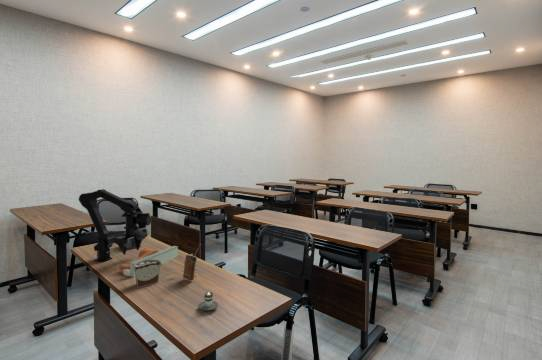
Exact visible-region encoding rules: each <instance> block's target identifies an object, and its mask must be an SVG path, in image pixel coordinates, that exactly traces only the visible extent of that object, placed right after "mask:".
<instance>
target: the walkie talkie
mask: <svg viewBox="0 0 542 360" xmlns="http://www.w3.org/2000/svg"><path fill="white" fill-rule="evenodd" d="M201 246H202V244H201V243H200V244H199V245H198V248H197V249H196V251H195V253H190V254H186V256H185V261H184V266H183V267H184V269H183V273H181V274H179V273H177V274H172V275H170V276H167V277H166V278H171V277H174V276H183V279H186V280H188V281H193V280H194V277H196V278H197V277H198V274H196V273H195V271H196V264H197V256H196V255H197V253H198V251H199V248H200V247H201Z"/></svg>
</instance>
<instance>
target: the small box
mask: <svg viewBox="0 0 542 360" xmlns="http://www.w3.org/2000/svg"><path fill="white" fill-rule="evenodd" d="M124 234H126V231H123V237H126V236H124ZM129 238H130V237H129ZM126 243H128V244H127V245H126V249H129V250H135V249H136V243H135V238H132V239H129V240H127V242H126ZM141 245H142V244H141ZM141 245H140V248H141V247H142V246H141ZM136 250H137V249H136Z"/></svg>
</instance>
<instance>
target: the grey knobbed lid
mask: <svg viewBox="0 0 542 360" xmlns="http://www.w3.org/2000/svg"><path fill="white" fill-rule="evenodd" d="M203 297H204V301H201V302H200V303H199V304H198V305H197V306H198V309H199V310H202V311H212V310H214V309H217V308H218V306H219V304H218V302H216V301H214V299H213V298H214V293H213V292H211V291H209V292H207V291H206V293H204V296H203Z"/></svg>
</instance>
